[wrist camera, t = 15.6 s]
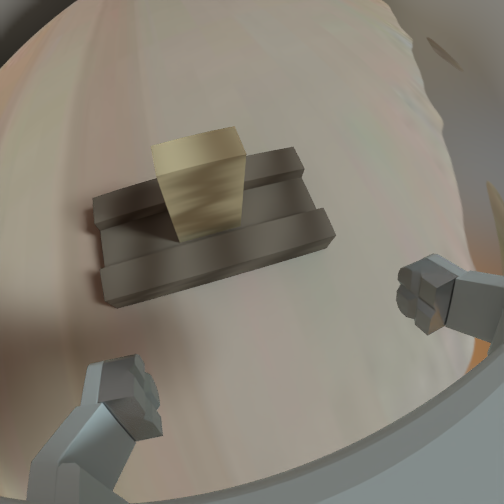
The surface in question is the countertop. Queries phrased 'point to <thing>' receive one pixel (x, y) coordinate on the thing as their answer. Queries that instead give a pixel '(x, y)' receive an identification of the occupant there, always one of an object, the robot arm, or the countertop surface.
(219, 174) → the wooden block
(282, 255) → the bridge
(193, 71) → the countertop surface
